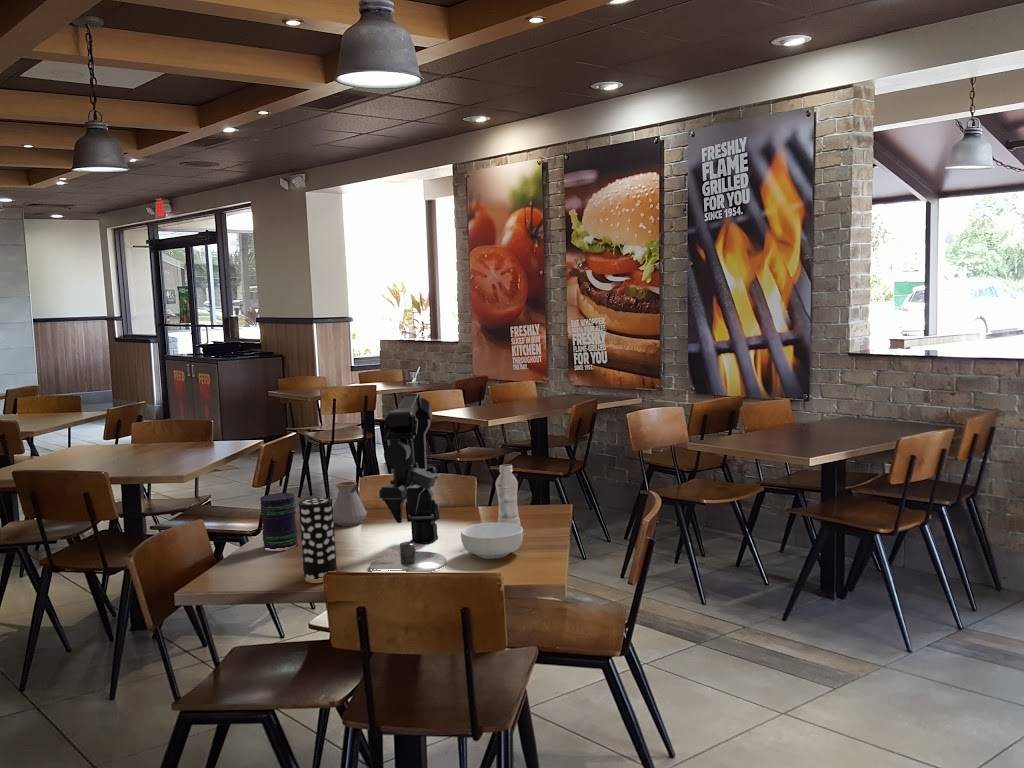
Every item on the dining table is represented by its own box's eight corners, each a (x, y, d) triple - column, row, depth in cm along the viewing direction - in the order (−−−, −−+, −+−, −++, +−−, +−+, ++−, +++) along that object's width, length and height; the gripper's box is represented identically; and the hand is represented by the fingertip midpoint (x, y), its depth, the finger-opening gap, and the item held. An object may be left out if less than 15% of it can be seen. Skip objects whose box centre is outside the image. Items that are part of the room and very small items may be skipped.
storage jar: (269, 553, 259) (265, 501, 257) (259, 546, 267) (255, 496, 266) (303, 547, 264) (299, 496, 263) (292, 540, 272) (288, 491, 271)
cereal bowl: (504, 566, 235) (503, 539, 234) (450, 560, 243) (448, 534, 242) (535, 549, 249) (534, 524, 249) (482, 544, 258) (481, 519, 257)
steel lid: (356, 576, 233) (355, 553, 233) (390, 554, 252) (388, 532, 252) (429, 580, 227) (427, 556, 227) (457, 557, 246) (456, 534, 246)
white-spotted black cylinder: (305, 585, 227) (299, 506, 225) (303, 576, 235) (297, 499, 233) (339, 581, 229) (333, 502, 228) (335, 572, 237) (330, 496, 236)
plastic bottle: (518, 535, 265) (515, 467, 263) (495, 535, 266) (492, 467, 265) (522, 529, 271) (519, 463, 269) (500, 529, 273) (497, 463, 271)
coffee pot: (327, 522, 294) (324, 476, 292) (362, 517, 298) (359, 472, 297) (342, 536, 274) (338, 487, 273) (379, 531, 279) (376, 482, 277)
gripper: (417, 466, 226) (421, 528, 227) (445, 453, 244) (448, 511, 245) (376, 466, 229) (380, 527, 231) (407, 453, 247) (410, 510, 249)
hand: (406, 518), depth 239 cm, fingers open, 9 cm apart
